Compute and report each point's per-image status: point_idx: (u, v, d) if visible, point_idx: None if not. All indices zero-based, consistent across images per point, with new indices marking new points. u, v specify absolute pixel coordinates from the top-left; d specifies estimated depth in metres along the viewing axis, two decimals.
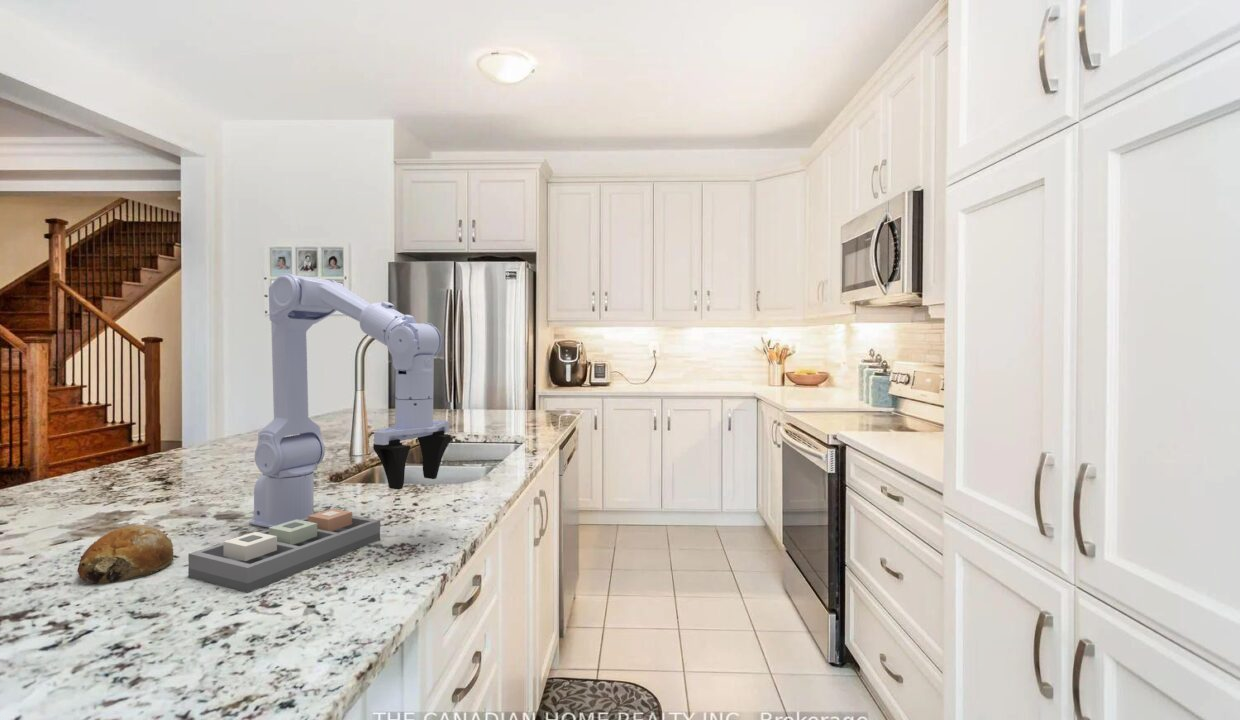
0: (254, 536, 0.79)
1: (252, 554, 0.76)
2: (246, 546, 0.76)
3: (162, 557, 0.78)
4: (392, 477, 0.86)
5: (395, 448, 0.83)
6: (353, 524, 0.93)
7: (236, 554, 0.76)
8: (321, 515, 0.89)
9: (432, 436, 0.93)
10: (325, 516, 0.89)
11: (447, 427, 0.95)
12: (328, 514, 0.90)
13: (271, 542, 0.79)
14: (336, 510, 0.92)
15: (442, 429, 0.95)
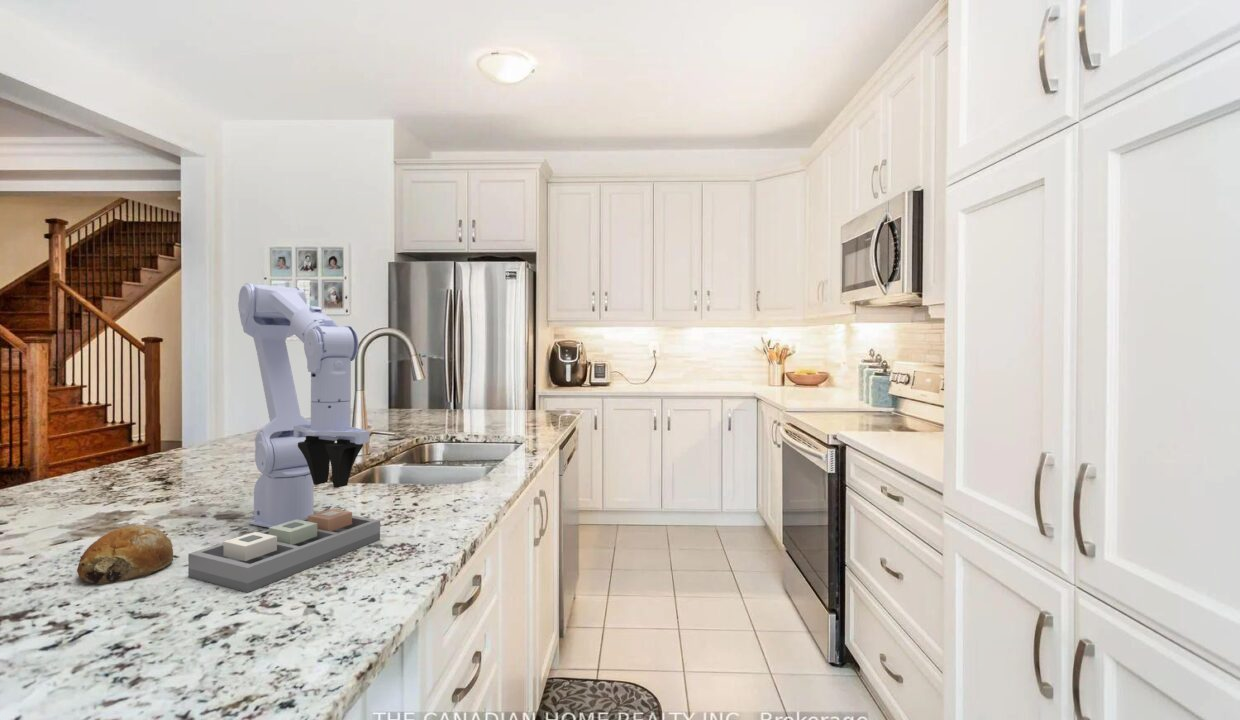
0: (254, 536, 0.79)
1: (252, 554, 0.76)
2: (246, 546, 0.76)
3: (162, 557, 0.78)
4: None
5: None
6: (353, 524, 0.93)
7: (236, 554, 0.76)
8: (321, 515, 0.89)
9: None
10: (325, 516, 0.89)
11: (357, 438, 0.87)
12: (328, 514, 0.90)
13: (271, 542, 0.79)
14: (336, 510, 0.92)
15: None
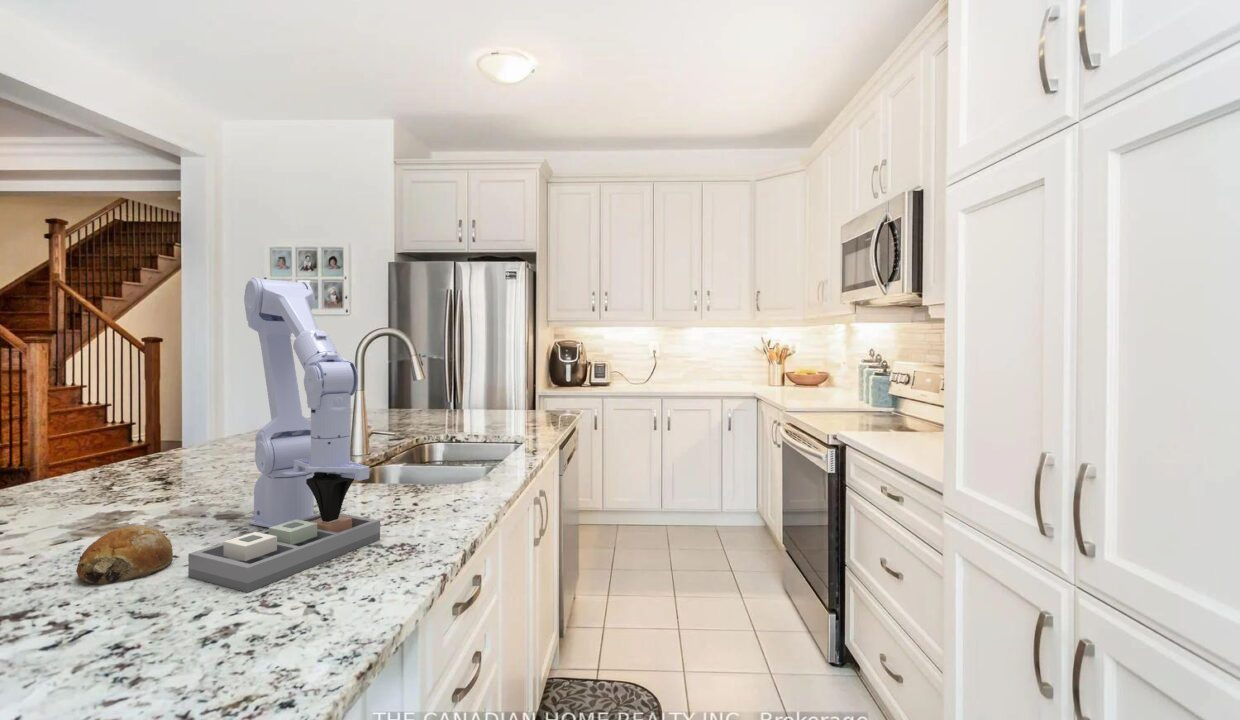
0: (254, 536, 0.79)
1: (252, 554, 0.76)
2: (246, 546, 0.76)
3: (161, 557, 0.78)
4: None
5: None
6: (353, 524, 0.93)
7: (236, 554, 0.76)
8: (321, 522, 0.89)
9: None
10: (325, 523, 0.89)
11: (357, 475, 0.87)
12: None
13: (271, 542, 0.79)
14: None
15: None
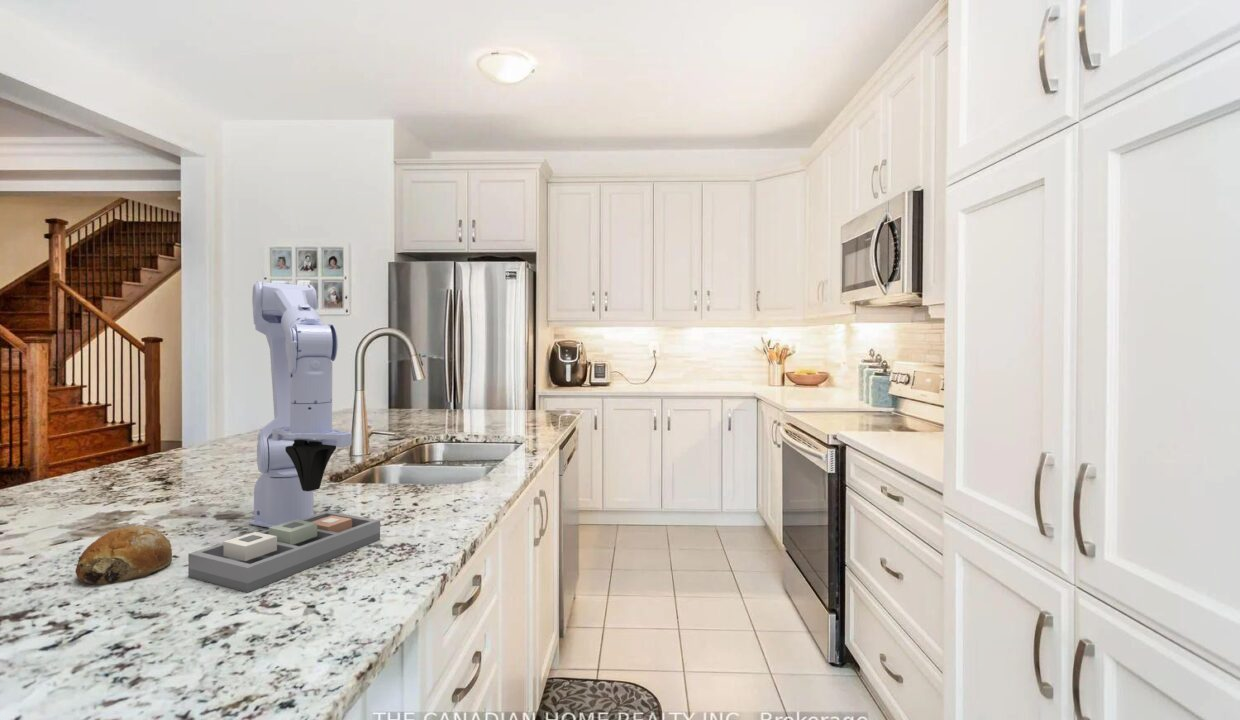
0: (254, 536, 0.79)
1: (252, 554, 0.76)
2: (246, 546, 0.76)
3: (160, 557, 0.78)
4: None
5: (287, 447, 0.86)
6: (353, 524, 0.93)
7: (236, 554, 0.76)
8: (321, 522, 0.89)
9: None
10: (325, 523, 0.89)
11: (339, 441, 0.83)
12: (328, 521, 0.90)
13: (271, 542, 0.79)
14: (336, 517, 0.92)
15: None
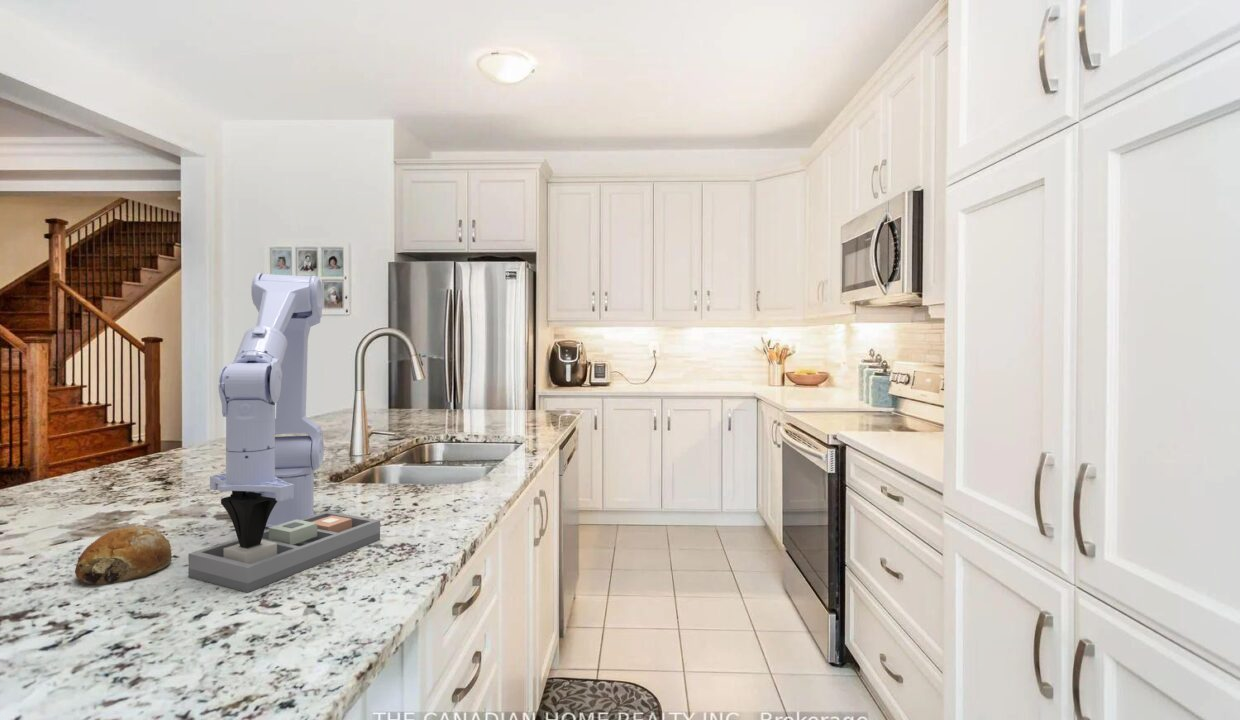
0: None
1: (252, 561, 0.76)
2: (246, 553, 0.76)
3: (160, 558, 0.78)
4: None
5: None
6: (353, 524, 0.93)
7: None
8: (321, 522, 0.89)
9: None
10: (325, 523, 0.89)
11: (278, 494, 0.75)
12: (328, 521, 0.90)
13: (271, 549, 0.79)
14: (336, 517, 0.92)
15: None
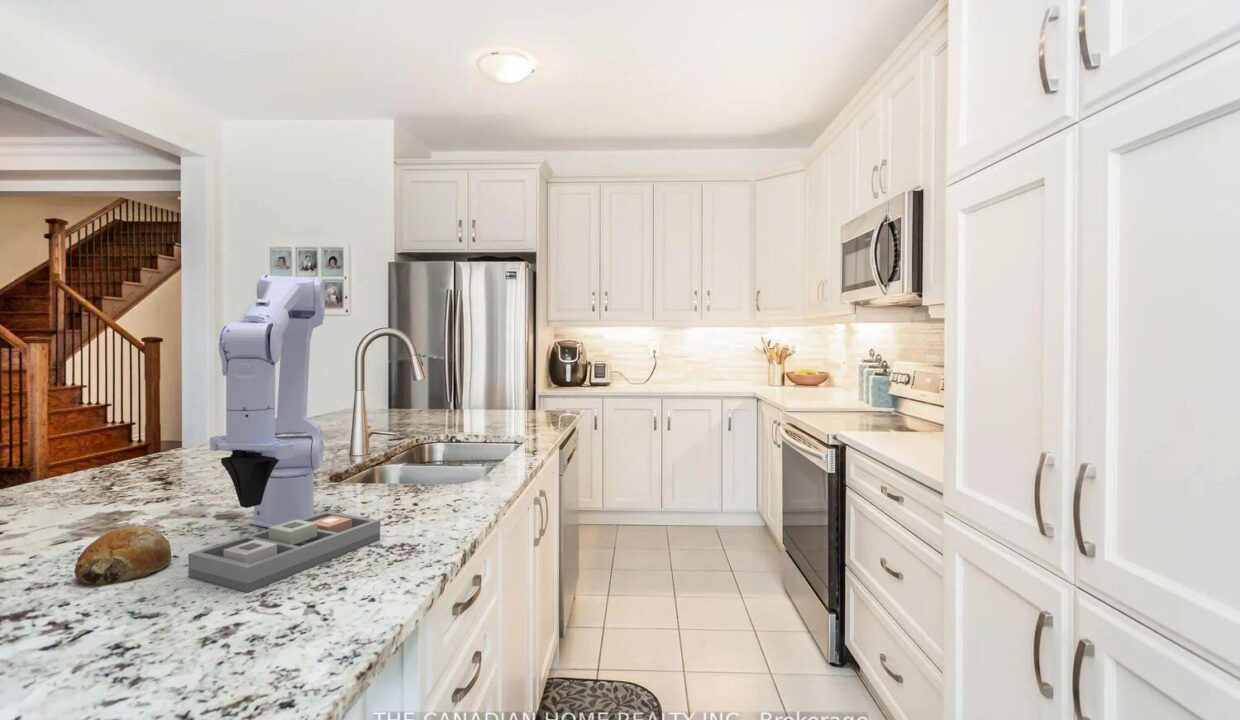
0: (254, 544, 0.79)
1: (252, 562, 0.76)
2: (246, 555, 0.76)
3: (159, 558, 0.78)
4: None
5: None
6: (353, 524, 0.93)
7: None
8: (321, 522, 0.89)
9: None
10: (325, 523, 0.89)
11: (278, 452, 0.75)
12: (328, 521, 0.90)
13: (271, 550, 0.79)
14: (336, 517, 0.92)
15: None
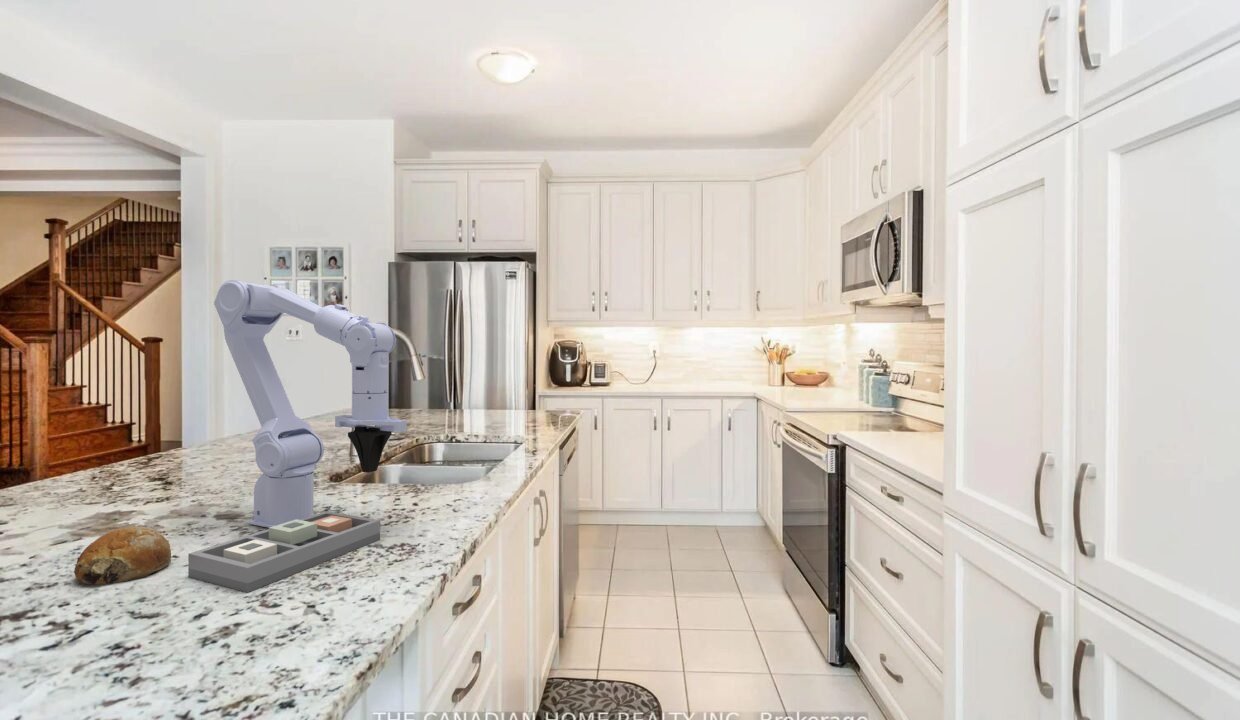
0: (254, 544, 0.79)
1: (252, 562, 0.76)
2: (246, 555, 0.76)
3: (159, 558, 0.78)
4: None
5: None
6: (353, 524, 0.93)
7: None
8: (321, 522, 0.89)
9: None
10: (325, 523, 0.89)
11: (395, 427, 0.93)
12: (328, 521, 0.90)
13: (271, 550, 0.79)
14: (336, 517, 0.92)
15: None
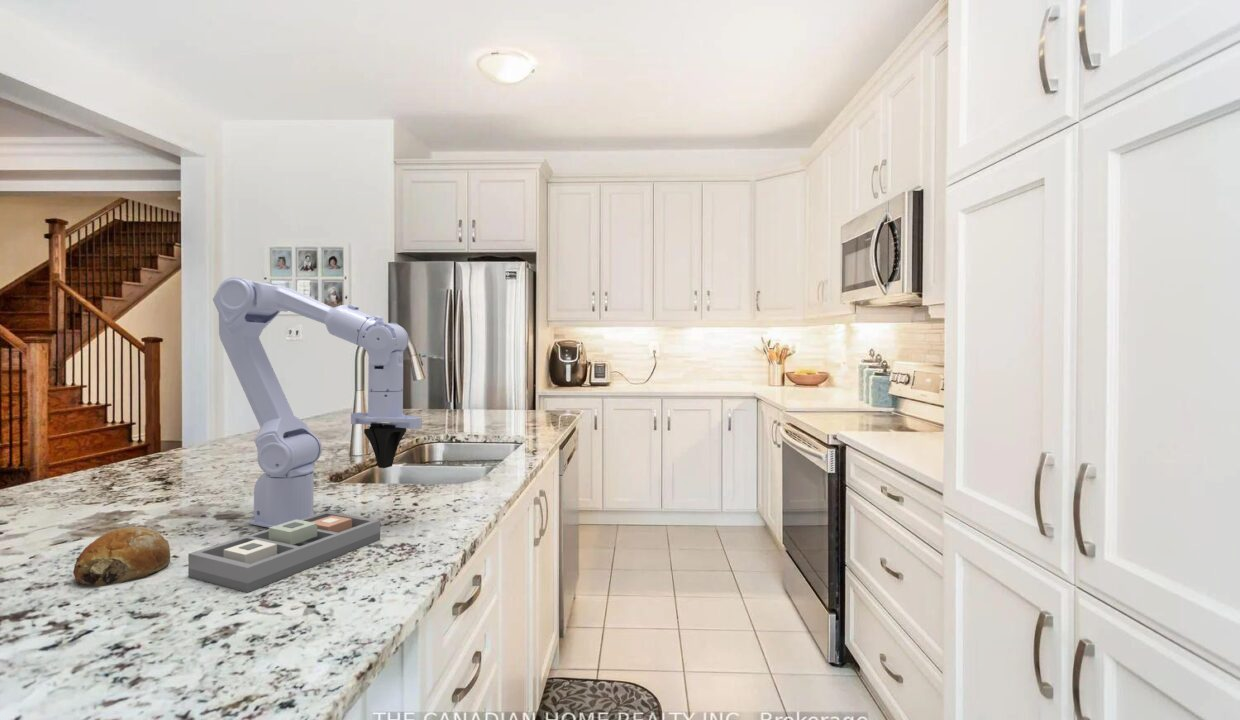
0: (254, 544, 0.79)
1: (252, 562, 0.76)
2: (246, 555, 0.76)
3: (158, 558, 0.78)
4: None
5: None
6: (353, 524, 0.93)
7: None
8: (321, 522, 0.89)
9: None
10: (325, 523, 0.89)
11: (411, 424, 0.96)
12: (328, 521, 0.90)
13: (271, 550, 0.79)
14: (336, 517, 0.92)
15: None
